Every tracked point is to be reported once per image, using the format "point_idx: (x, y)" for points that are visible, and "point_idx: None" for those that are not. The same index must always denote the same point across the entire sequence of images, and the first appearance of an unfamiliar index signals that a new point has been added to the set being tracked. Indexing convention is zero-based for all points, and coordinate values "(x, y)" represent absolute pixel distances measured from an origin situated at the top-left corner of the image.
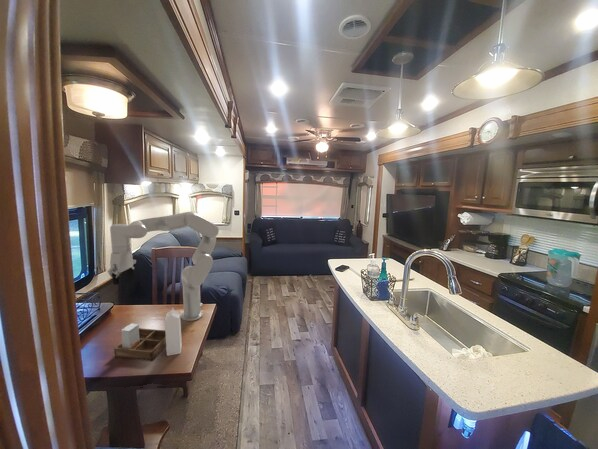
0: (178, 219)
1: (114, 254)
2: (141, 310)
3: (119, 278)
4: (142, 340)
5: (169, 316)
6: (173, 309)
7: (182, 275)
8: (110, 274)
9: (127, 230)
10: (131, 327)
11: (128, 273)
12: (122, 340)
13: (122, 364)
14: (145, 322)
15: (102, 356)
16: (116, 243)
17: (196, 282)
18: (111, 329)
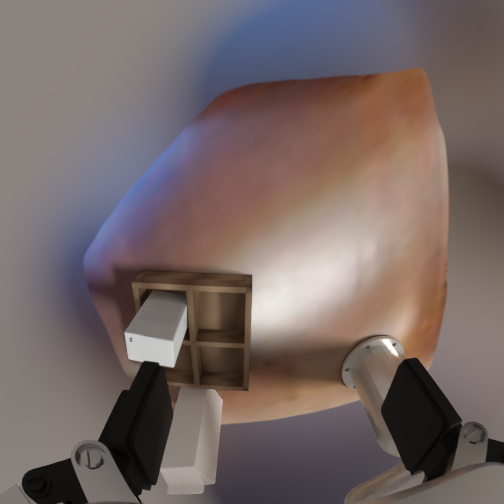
0: None
1: None
2: (414, 171)
3: (157, 471)
4: (190, 335)
5: (167, 480)
6: (203, 485)
7: (421, 477)
8: (28, 491)
9: None
10: (148, 357)
11: (417, 400)
12: (138, 312)
13: (126, 308)
14: (337, 240)
15: (137, 231)
16: None
17: None
18: (279, 141)
